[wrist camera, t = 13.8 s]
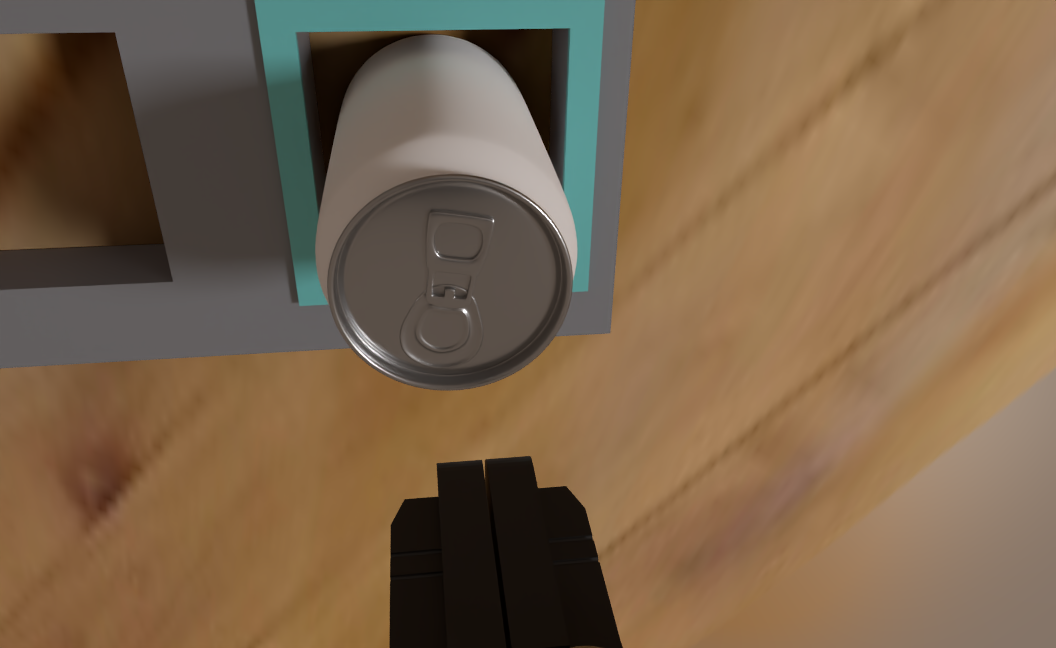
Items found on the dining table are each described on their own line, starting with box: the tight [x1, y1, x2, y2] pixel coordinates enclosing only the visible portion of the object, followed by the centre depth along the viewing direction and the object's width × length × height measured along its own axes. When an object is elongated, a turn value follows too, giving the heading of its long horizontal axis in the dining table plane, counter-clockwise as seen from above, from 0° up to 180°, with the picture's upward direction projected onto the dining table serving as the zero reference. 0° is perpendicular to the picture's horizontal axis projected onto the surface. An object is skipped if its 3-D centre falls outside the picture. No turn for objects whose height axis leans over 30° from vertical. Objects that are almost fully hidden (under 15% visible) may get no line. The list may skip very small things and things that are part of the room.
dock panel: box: [0, 0, 635, 368], centre depth 27 cm, size 14×25×3 cm, turn 89°
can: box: [315, 34, 577, 390], centre depth 24 cm, size 6×6×12 cm
